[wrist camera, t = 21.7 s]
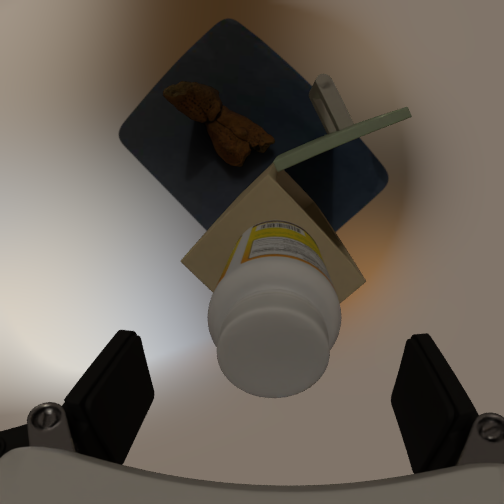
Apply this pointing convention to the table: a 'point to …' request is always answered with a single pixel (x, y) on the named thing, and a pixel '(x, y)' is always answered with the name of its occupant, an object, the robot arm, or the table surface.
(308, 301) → the supplement bottle
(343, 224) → the table surface
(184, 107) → the sculpture
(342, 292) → the cabinet
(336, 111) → the cabinet door
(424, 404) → the robot arm
